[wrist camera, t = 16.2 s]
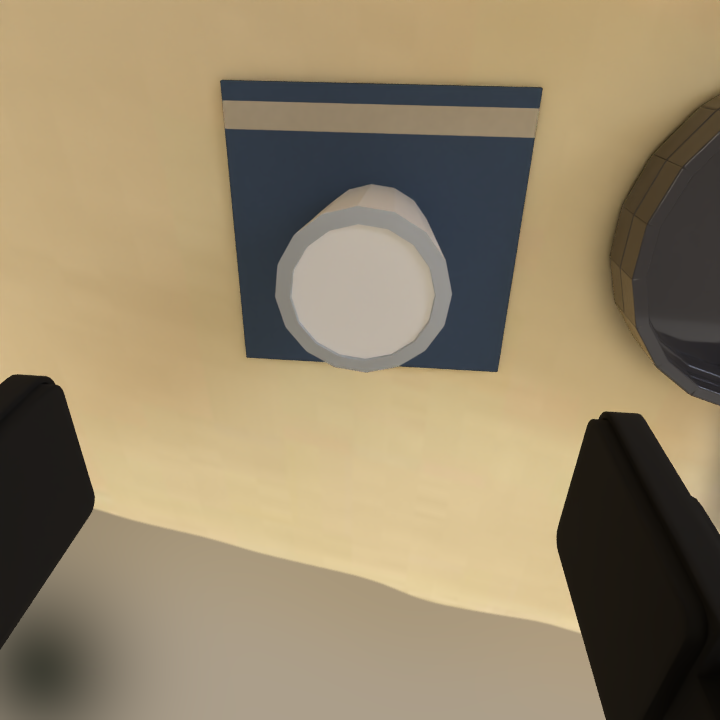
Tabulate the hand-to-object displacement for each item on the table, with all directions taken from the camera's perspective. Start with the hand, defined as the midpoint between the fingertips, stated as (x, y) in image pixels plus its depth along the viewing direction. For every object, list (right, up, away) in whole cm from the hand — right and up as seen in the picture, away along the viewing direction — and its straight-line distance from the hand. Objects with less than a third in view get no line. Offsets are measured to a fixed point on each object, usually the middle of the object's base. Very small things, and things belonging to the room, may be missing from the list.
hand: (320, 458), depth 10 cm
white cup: (+1, +8, +18) cm, 19 cm away
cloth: (+1, +8, +18) cm, 19 cm away
